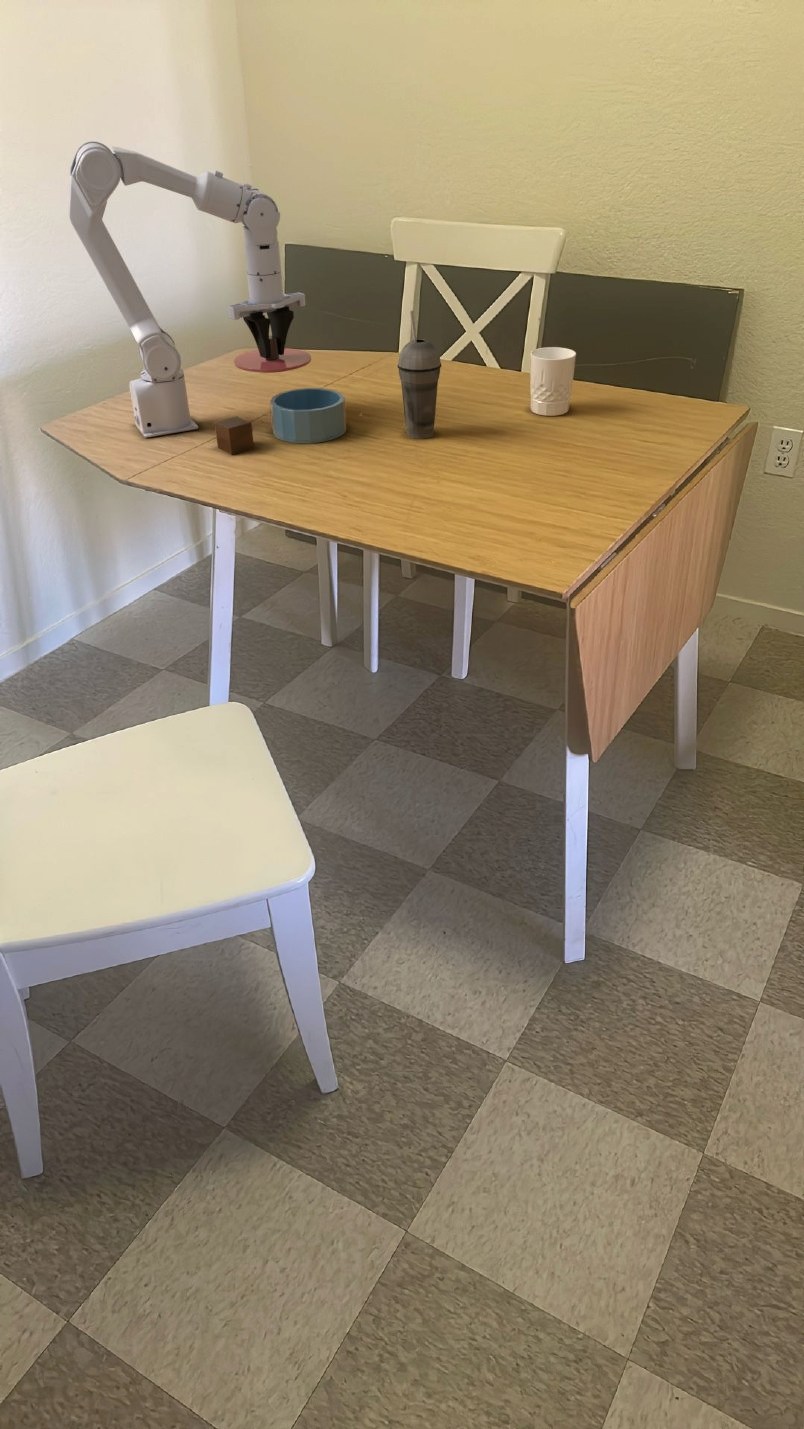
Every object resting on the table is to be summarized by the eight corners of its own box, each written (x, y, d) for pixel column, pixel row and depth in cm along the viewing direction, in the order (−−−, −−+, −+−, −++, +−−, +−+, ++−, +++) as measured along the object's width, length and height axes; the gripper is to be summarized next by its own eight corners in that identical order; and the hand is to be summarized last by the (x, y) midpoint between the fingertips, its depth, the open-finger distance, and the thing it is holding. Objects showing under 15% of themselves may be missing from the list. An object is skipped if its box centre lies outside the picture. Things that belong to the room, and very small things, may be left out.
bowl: (301, 449, 162) (298, 416, 159) (259, 430, 170) (256, 399, 167) (360, 431, 169) (359, 399, 165) (317, 414, 177) (315, 383, 173)
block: (231, 454, 161) (228, 428, 158) (217, 448, 163) (214, 422, 161) (254, 448, 163) (251, 422, 160) (240, 441, 166) (236, 416, 163)
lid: (261, 381, 164) (259, 352, 161) (219, 364, 173) (216, 337, 170) (326, 365, 171) (325, 337, 168) (283, 350, 180) (281, 323, 177)
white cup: (570, 403, 178) (575, 347, 172) (572, 417, 172) (577, 359, 166) (527, 403, 179) (530, 346, 173) (527, 417, 172) (530, 359, 167)
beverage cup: (437, 442, 163) (437, 317, 151) (395, 440, 164) (391, 316, 153) (444, 428, 169) (445, 306, 157) (403, 426, 170) (401, 305, 159)
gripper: (240, 282, 157) (249, 368, 165) (313, 269, 164) (318, 352, 172) (217, 276, 161) (227, 360, 169) (289, 263, 169) (296, 344, 177)
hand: (272, 355), depth 171 cm, fingers closed on lid, 2 cm apart
